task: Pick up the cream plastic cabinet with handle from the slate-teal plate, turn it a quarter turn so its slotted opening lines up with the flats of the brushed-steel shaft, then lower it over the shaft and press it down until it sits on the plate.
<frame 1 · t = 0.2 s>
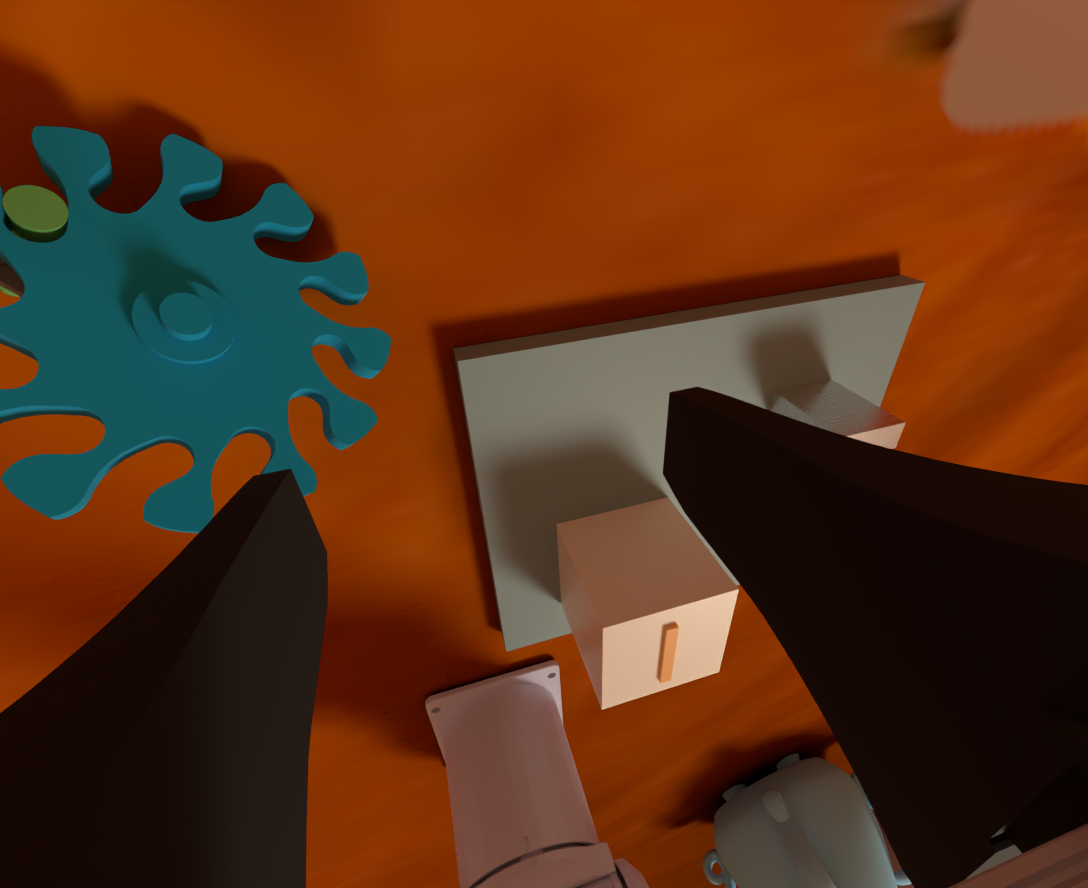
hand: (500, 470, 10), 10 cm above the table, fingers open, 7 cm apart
cabinet with handle: (612, 552, 25), point 1 cm above the table, touching base plate
d shaft: (799, 396, 23), resting on base plate
decorative pot: (765, 782, 54), on the table
base plate: (679, 474, 25), on the table
gear: (205, 276, 15), on the table
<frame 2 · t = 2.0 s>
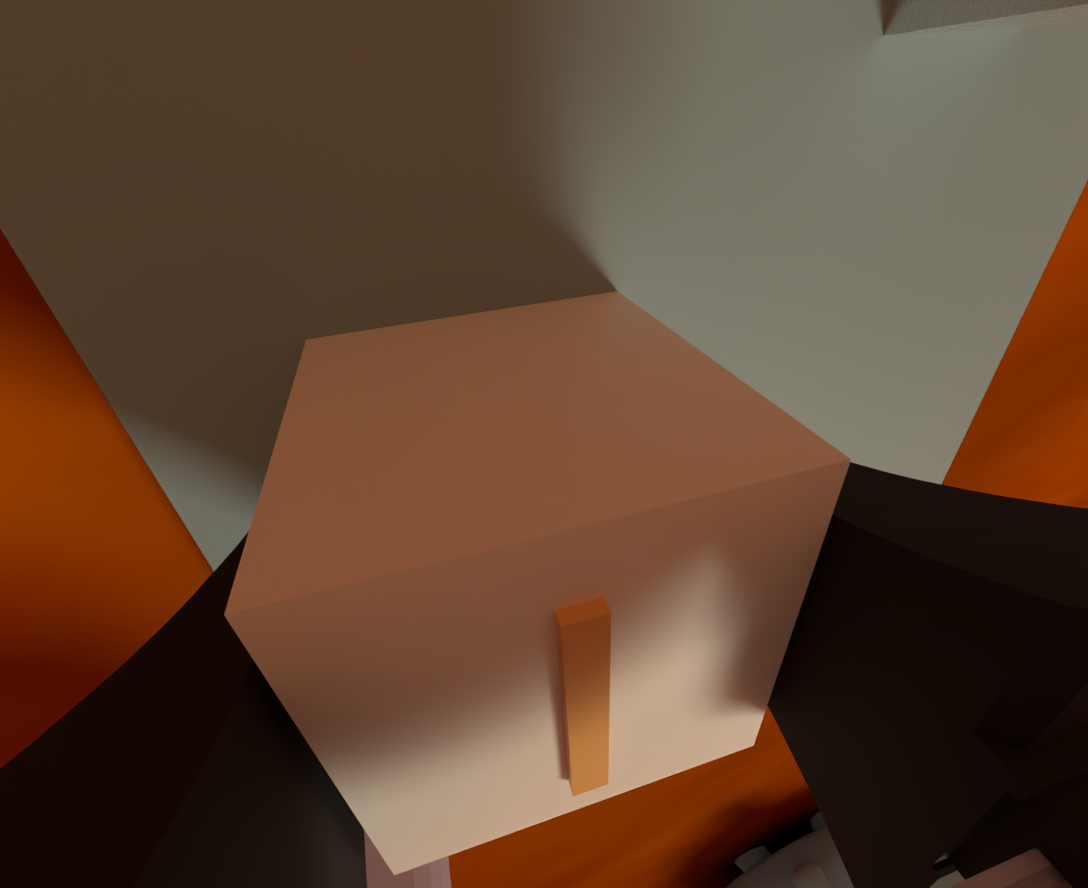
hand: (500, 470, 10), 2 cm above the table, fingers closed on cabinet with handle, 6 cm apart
cabinet with handle: (490, 443, 11), point 1 cm above the table, touching base plate, gripper
decorative pot: (793, 840, 39), on the table
base plate: (648, 257, 11), on the table
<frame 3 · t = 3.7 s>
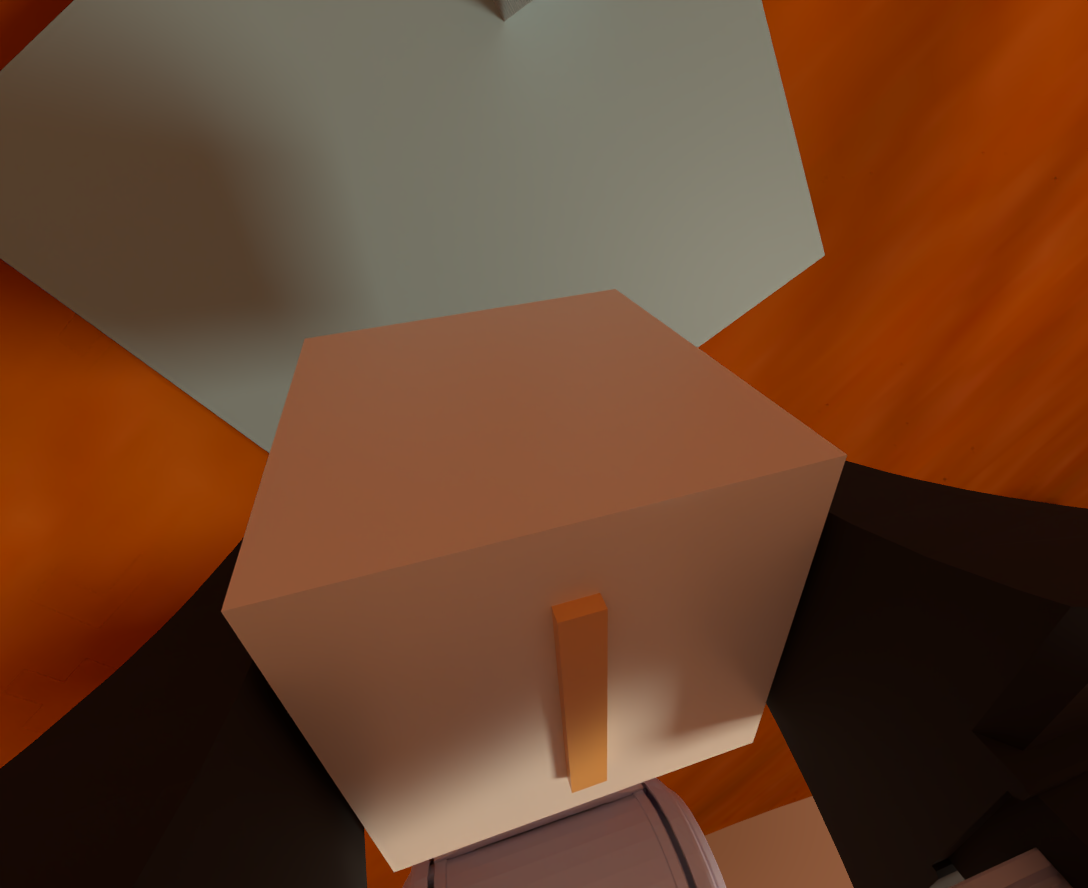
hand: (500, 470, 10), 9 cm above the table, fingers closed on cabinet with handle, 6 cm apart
cabinet with handle: (489, 442, 11), point 8 cm above the table, touching gripper
base plate: (470, 219, 16), on the table
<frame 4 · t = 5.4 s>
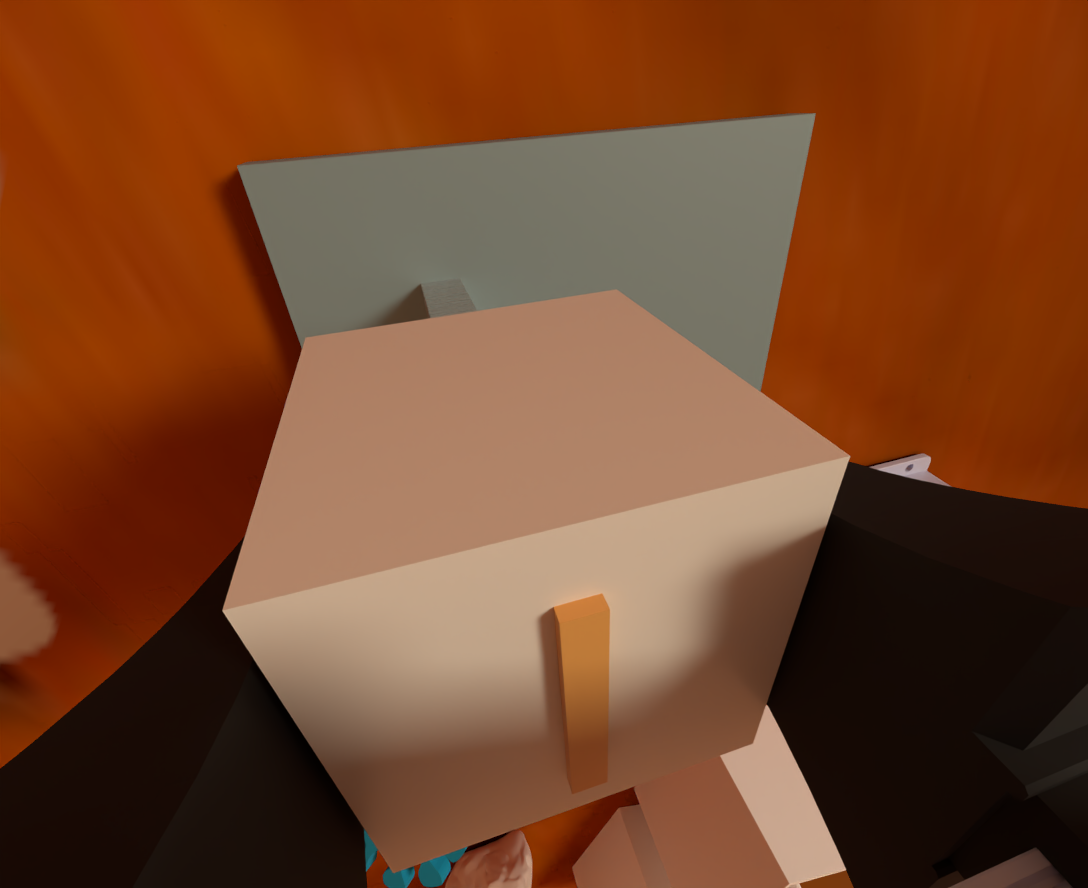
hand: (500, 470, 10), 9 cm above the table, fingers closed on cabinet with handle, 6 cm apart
cabinet with handle: (489, 442, 11), point 8 cm above the table, touching gripper
d shaft: (448, 327, 16), resting on base plate
bust: (478, 851, 42), on the table
base plate: (561, 417, 21), on the table
gear: (377, 718, 29), on the table
storage container: (673, 786, 46), on the table
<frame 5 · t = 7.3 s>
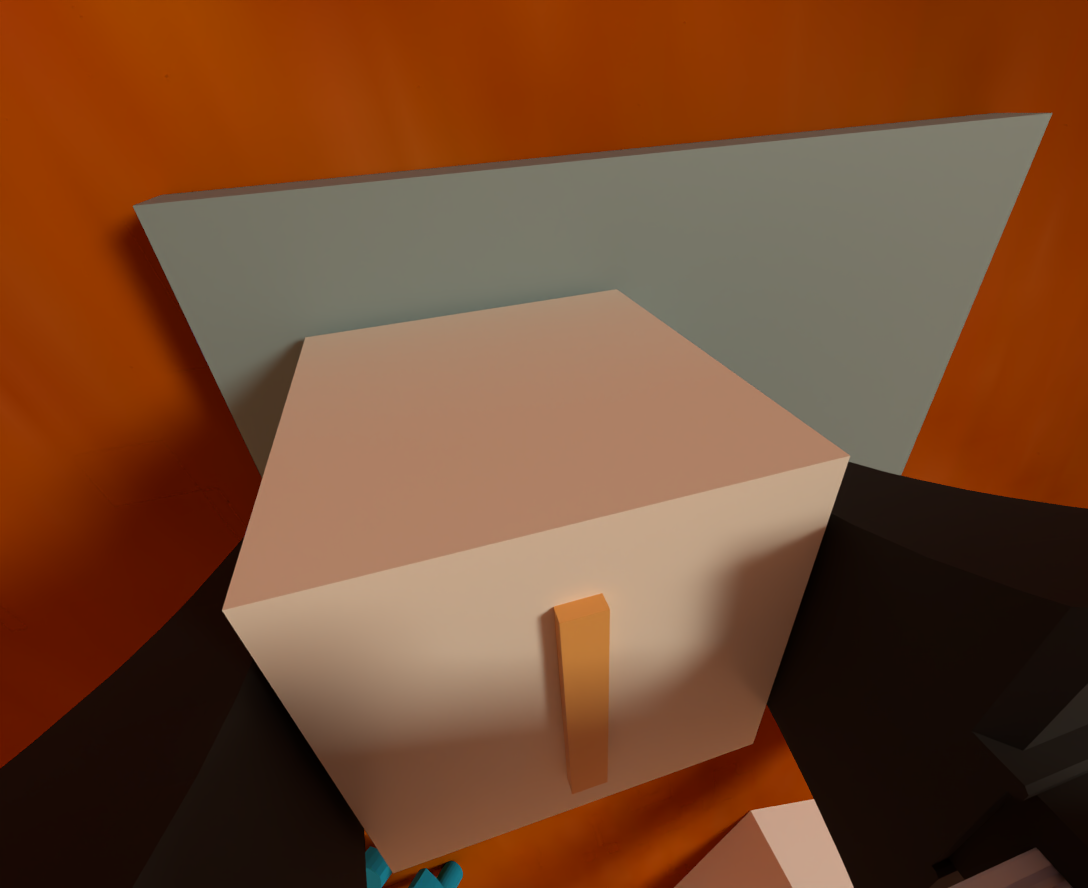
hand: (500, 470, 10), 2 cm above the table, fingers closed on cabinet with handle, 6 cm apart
cabinet with handle: (489, 442, 11), point 1 cm above the table, touching gripper
base plate: (630, 527, 15), on the table
gear: (382, 863, 23), on the table
storage container: (715, 878, 41), on the table
when the fingers open (2 cm above the table, at t = 8.7 s): cabinet with handle stays where it is, resting on base plate.
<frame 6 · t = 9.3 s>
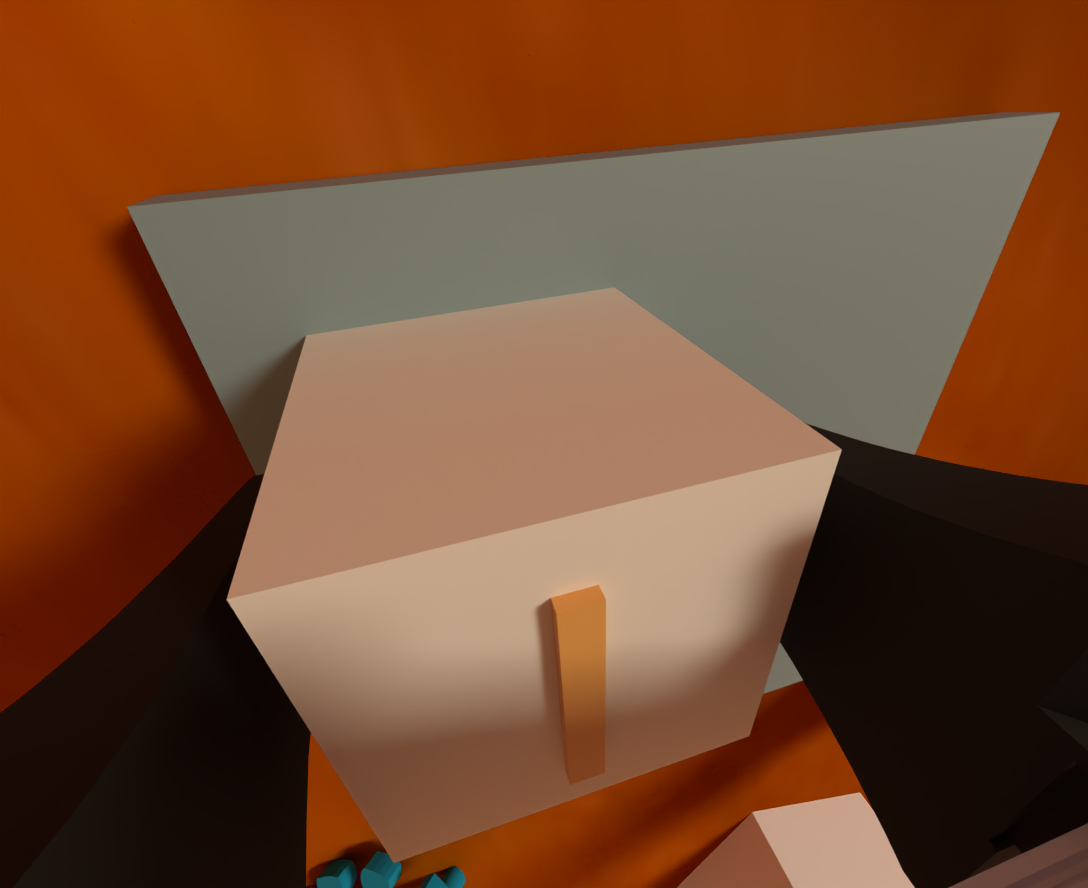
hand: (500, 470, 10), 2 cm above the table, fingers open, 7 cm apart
cabinet with handle: (488, 439, 11), point 1 cm above the table, touching base plate
base plate: (632, 530, 15), on the table
gear: (385, 868, 23), on the table
storage container: (716, 879, 41), on the table
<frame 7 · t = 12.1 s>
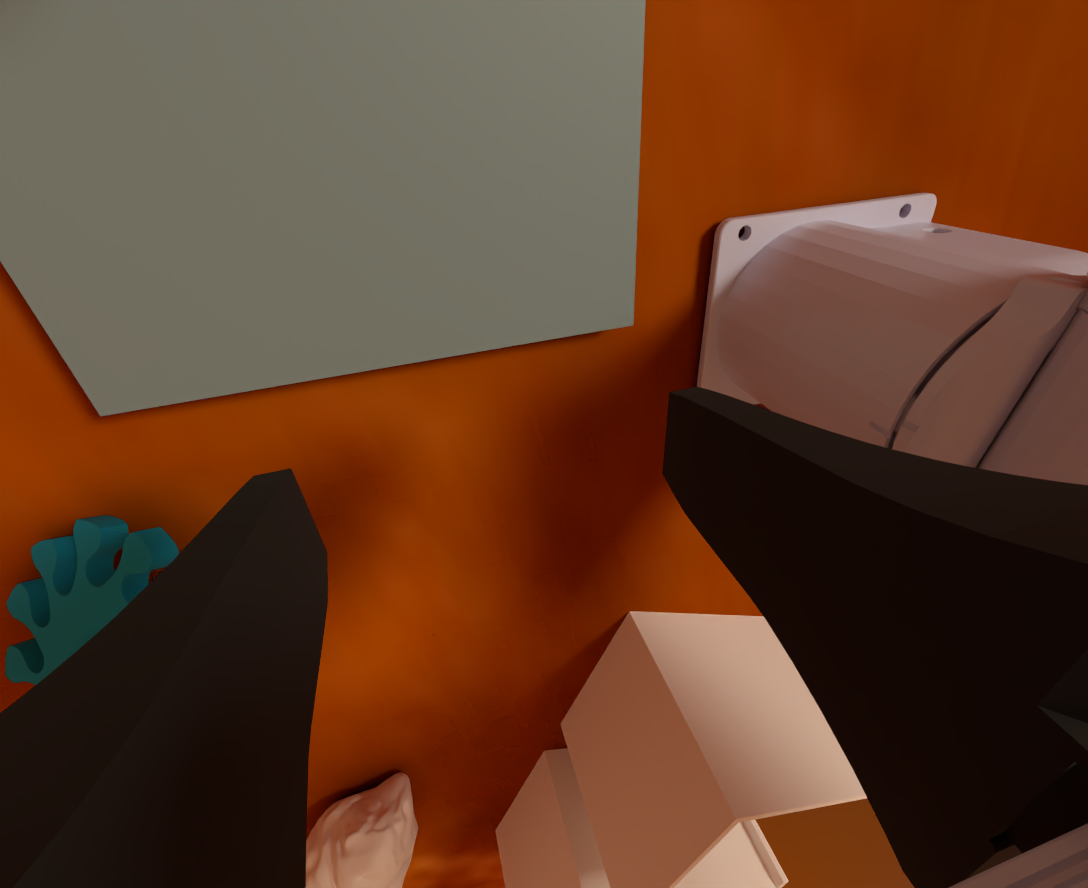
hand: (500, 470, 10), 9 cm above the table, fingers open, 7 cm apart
bust: (357, 803, 33), on the table
gear: (150, 586, 20), on the table
storage container: (616, 727, 37), on the table
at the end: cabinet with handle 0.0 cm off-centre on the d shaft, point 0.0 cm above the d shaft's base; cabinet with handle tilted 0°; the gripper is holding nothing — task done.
